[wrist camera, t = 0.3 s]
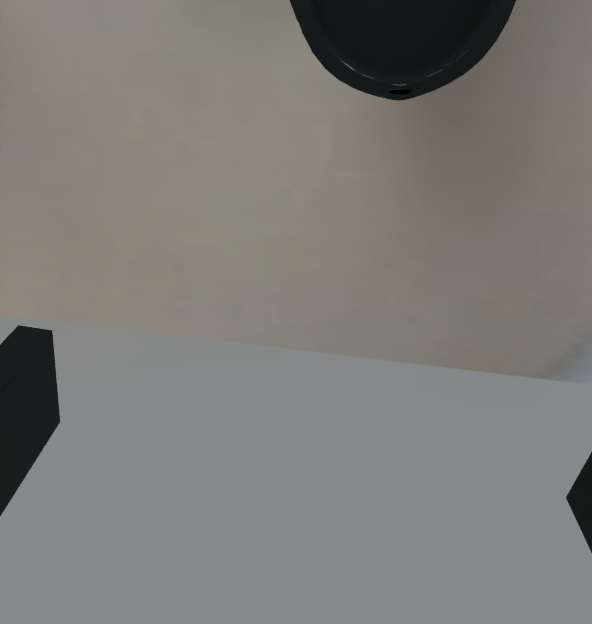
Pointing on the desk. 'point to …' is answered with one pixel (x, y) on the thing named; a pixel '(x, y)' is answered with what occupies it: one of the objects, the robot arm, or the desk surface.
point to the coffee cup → (400, 40)
